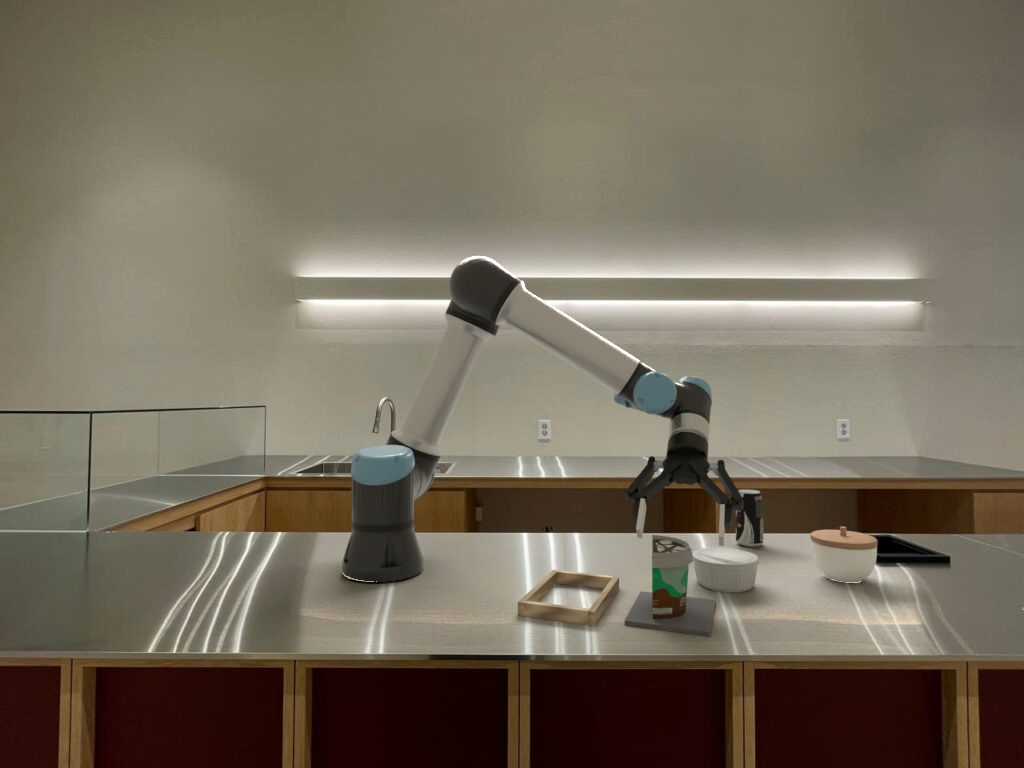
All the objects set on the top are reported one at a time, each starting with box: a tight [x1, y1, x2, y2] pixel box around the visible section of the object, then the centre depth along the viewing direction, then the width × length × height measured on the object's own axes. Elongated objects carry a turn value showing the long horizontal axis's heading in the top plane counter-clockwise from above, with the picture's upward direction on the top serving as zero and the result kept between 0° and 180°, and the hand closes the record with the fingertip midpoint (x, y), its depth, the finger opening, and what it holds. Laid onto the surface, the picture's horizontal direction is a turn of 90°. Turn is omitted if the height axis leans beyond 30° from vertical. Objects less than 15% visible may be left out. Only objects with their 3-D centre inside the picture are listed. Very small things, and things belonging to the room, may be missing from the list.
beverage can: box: [735, 488, 764, 548], centre depth 136 cm, size 6×6×12 cm
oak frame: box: [517, 569, 620, 627], centre depth 100 cm, size 12×18×2 cm, turn 159°
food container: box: [651, 534, 694, 619], centre depth 94 cm, size 12×6×10 cm, turn 167°
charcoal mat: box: [624, 590, 717, 637], centre depth 94 cm, size 12×14×1 cm
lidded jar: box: [810, 526, 878, 582], centre depth 111 cm, size 11×11×9 cm
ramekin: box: [692, 547, 760, 593], centre depth 108 cm, size 11×11×5 cm
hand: (679, 537), depth 104 cm, fingers open, 13 cm apart
